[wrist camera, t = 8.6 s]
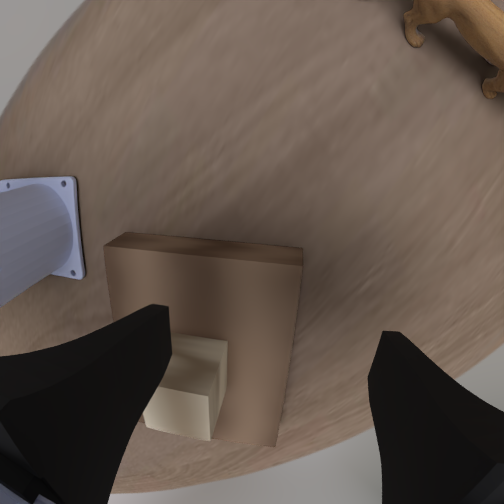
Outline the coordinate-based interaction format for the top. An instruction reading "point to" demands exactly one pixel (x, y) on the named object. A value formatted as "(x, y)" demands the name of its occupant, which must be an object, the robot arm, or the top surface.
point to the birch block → (190, 388)
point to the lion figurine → (465, 30)
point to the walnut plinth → (220, 314)
